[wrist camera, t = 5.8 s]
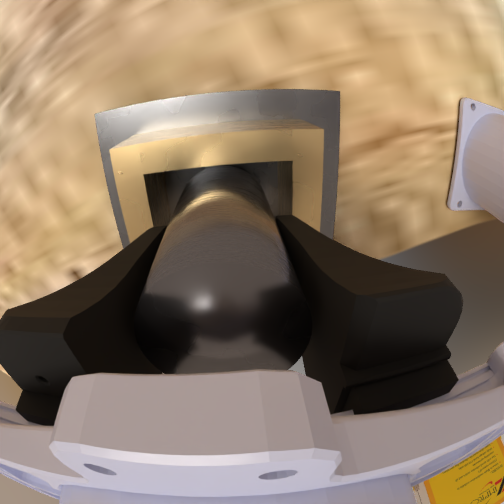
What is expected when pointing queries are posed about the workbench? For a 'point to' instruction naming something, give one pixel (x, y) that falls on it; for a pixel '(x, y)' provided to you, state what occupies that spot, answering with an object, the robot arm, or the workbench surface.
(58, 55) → the workbench surface
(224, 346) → the dark grey cylinder
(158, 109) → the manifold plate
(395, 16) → the workbench surface
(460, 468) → the packaging box
